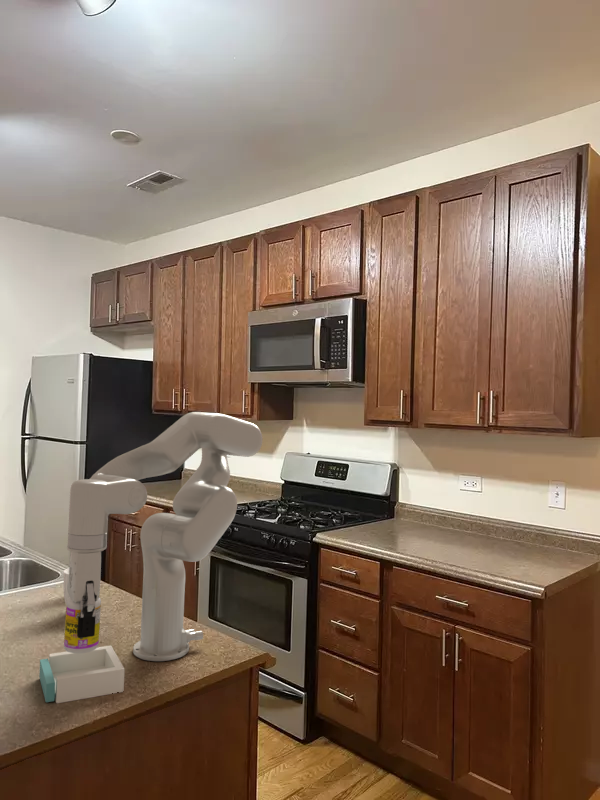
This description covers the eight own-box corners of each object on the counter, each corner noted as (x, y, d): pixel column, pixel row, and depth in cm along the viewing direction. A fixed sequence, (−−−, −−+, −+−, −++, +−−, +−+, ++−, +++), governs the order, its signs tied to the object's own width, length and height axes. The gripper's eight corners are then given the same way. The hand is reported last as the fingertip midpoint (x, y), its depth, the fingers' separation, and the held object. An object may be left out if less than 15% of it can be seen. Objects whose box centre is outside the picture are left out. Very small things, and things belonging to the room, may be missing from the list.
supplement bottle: (56, 652, 124) (59, 586, 125) (76, 640, 131) (79, 578, 131) (86, 656, 123) (90, 590, 123) (105, 644, 129) (108, 581, 129)
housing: (110, 666, 136) (111, 645, 136) (123, 691, 124) (124, 668, 124) (48, 675, 130) (49, 653, 130) (56, 703, 119) (57, 679, 119)
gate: (47, 675, 129) (47, 658, 130) (54, 700, 119) (55, 682, 119) (39, 676, 129) (40, 659, 129) (45, 702, 118) (46, 683, 118)
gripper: (61, 533, 133) (57, 618, 133) (74, 552, 118) (69, 648, 117) (98, 532, 136) (94, 614, 136) (115, 549, 121) (110, 642, 121)
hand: (82, 629), depth 127 cm, fingers closed on supplement bottle, 6 cm apart
